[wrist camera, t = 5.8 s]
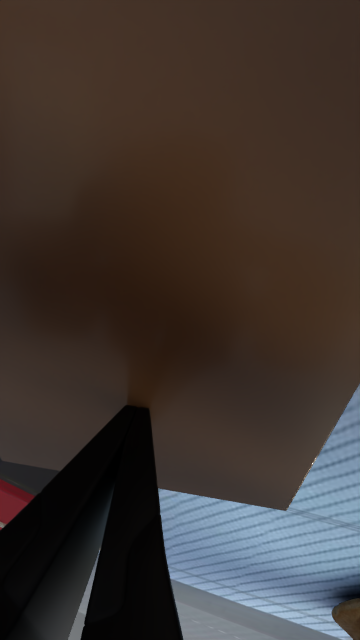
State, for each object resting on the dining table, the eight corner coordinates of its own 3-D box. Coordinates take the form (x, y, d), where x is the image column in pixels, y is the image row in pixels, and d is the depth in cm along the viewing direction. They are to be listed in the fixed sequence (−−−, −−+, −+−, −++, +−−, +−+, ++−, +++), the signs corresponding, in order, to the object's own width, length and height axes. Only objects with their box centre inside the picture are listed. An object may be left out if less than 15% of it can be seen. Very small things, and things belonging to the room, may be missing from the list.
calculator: (119, 548, 20) (35, 593, 26) (134, 488, 24) (57, 540, 30) (-20, 480, 17) (-77, 548, 23) (21, 425, 21) (-37, 497, 27)
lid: (283, 493, 12) (286, 511, 11) (11, 446, 12) (1, 461, 12) (571, -55, 4) (637, -95, 3) (-205, -74, 5) (-268, -109, 4)
